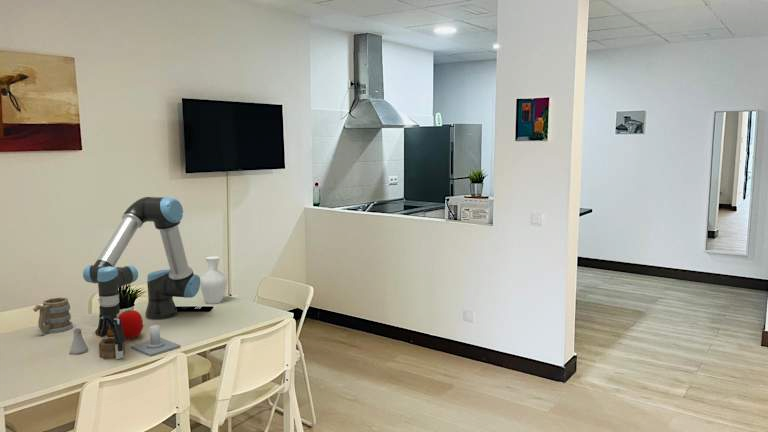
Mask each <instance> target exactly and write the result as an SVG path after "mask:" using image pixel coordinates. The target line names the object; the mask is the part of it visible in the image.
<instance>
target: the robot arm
mask: <svg viewBox="0 0 768 432" xmlns="http://www.w3.org/2000/svg"><path fill="white" fill-rule="evenodd" d="M183 214H184V209H183V205H182V204H181V202H180V200H178V199H176V198H174V197H168V196H166V197H165V196H164V197H160V196H159V197H157V196H156V197H155V196H143V197H141V198H140V199H137V200H136V201H134V202H133V203H132V204H131V205H129V207H128V208H127V209H126V210H125V211H124V213H123V214H122V217H121V221H120V223H119V225H118V226H117V228H116V230H115V231H114V233H112V236H111V237H110V239H109V240H108V242H107V244H106V246H105V247H104V248H103V250H102V252H101V253H100V255H99V256H98V258H97V260H96V261H95V262H94V264H90V265H87V266H86V267H84V269H83V272H82V278H83V279H84V281H85V282H87V283H90V284H97V286H98V287H97V288H98V289H97V290H98V303H99V304H98V305H99V308H98V309H99V314H98V315H99V316H98V317H99V319H98V325H97V326H98V327H97V331H96V332H97V335H99V337H100V342H101V341H102V340H105V339H108V337H109V336H108V335H109V334H108V332H109V329H110V330H111V332H112V335H113V338H115V341H116V343H115V349H116V358H115V359H116V360H119V359H123V358H124V355H123V343H124V342H125V343H126V338H125V336H124V332H123V328H122V324H121V319H118V317H117V315H118V314H120V311H121V309H120V304H119V303H120V293H119V288H120V287H124V286H127V285H131V284H132V283H134V282H136V281H137V279H139V278H138V277H139V271H138V269H137V268H136V267H135V266H134V265H125V266H116V264H117V263H118V261H119V260H120V258H121V256H122V254H123V253H124V252H125V250H126V248H127V246H128V244H129V243H130V242H131V240H132V238H133V237H134V235H135V233H136V232H137V230H138V229H141V227H143V225H144V223H146V222H153V223H154V227H155V229H156V230H158V231H159V234H160V236H161V237H160V238H161V241H162V244H163V248H164V251H165V257H166V259H167V262H168V263H167V264H168V267H169V268H168V269H159V270H155V271H152V272H149V273H148V274H147V276H146V277H147V278H146V279H147V281H146V283H147V285H146V286H147V297H148V298H147V299H148V303H147V305H146V309H145V313H144V314H145V318H147V319H148V320H149V319H150V320H165V319H166V320H167V319H170V318H172V317H175V316H177V315H178V310H177V307H176V304H175V302H174V298H173V297H175V298H184V299H186V298H188V299H190V298H194V297H196V295H197V294H198V293H199V291H200V289H201V285H200V278H201V276H199V275H198V274H194V270H193V268H192V267H190V266H189V263H188V260H187V256H186V251H185V249H184V245H183V241H182V237H181V233H180V228H179V225H180V224H181V221H182V219H183V217H184V216H183Z"/></svg>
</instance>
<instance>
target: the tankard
mask: <svg viewBox="0 0 768 432" xmlns="http://www.w3.org/2000/svg"><path fill="white" fill-rule="evenodd" d="M32 310H33V312H38V311H39V317H38V322H37V323H38V328H39V330H40V331H41V332H42V333H45V334H58V333H64V332H67V331H69V330H72V329H74V324H73V321H70V320H72V319H71V318H72V315H71V313H70V310H71V305H70V302H69V299H68V298H67V297H53V298H49V299H48V298H47V299H45V300H43V301H42V305H39V304H36V305H35V306H34V307H33V309H32Z"/></svg>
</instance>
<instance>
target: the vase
mask: <svg viewBox="0 0 768 432" xmlns="http://www.w3.org/2000/svg"><path fill="white" fill-rule="evenodd" d="M220 258H221V257H220V256H215V255H214V256H213V255H211V256H207V257H205V261H206V263H207V267H208V270H207V271H206V272H204V274H202V275H201V276H200V290H201V293H202V296H203V300H204V302H205V303H206V304H208V305H216V304H219V303H222V301H223V298H224V296H225V293H226V289H227V283H228V282H227V281H228V278H227V274H225V273H223V272H221V271H220V270H219V269H218V266H219V263H220Z"/></svg>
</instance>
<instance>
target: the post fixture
mask: <svg viewBox="0 0 768 432" xmlns="http://www.w3.org/2000/svg"><path fill="white" fill-rule="evenodd" d="M160 329H161V328H160V325H158V324H153V325H150V326H149V340H146V341H142V342H139V343H136V344H131V345H130V349H132V350H135V351H136V352H139V353H141V354H143V355H146V356H148V357H154V356H158V355H160V354H164V353H167V352H170V351H173V350H174V351H175V350H176V349H181V344H178V343H176V342H173V341H171V340H168V339H165V338H163V337H161V332H160Z"/></svg>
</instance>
